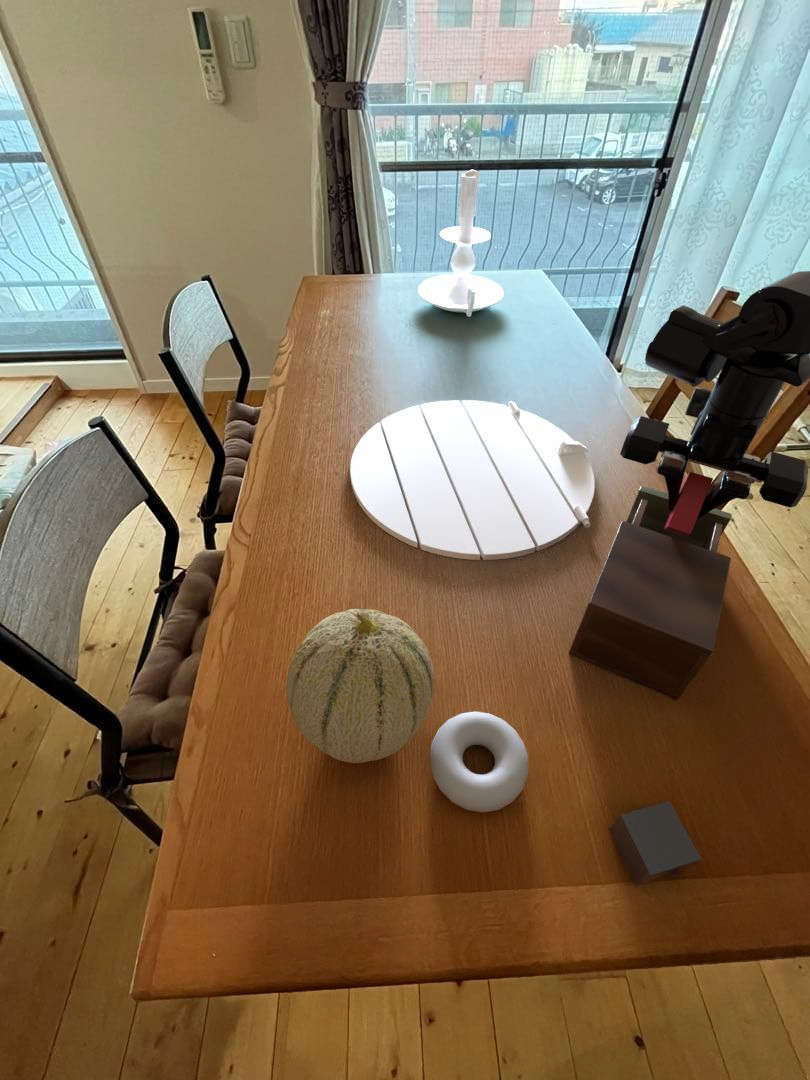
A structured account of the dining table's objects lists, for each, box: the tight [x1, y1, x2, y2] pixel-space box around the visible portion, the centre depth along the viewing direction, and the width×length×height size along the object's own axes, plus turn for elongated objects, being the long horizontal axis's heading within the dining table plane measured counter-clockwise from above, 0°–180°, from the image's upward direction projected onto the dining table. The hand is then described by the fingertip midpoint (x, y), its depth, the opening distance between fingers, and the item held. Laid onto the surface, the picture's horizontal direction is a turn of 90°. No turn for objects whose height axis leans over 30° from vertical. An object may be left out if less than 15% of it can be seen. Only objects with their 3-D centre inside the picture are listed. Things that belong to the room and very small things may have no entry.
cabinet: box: [568, 520, 732, 701], centre depth 65 cm, size 15×13×10 cm
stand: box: [608, 800, 702, 887], centre depth 50 cm, size 5×5×4 cm
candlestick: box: [417, 169, 505, 317], centre depth 124 cm, size 21×25×28 cm
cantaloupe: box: [285, 608, 435, 764], centre depth 55 cm, size 15×15×15 cm
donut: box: [429, 711, 529, 813], centre depth 56 cm, size 10×4×10 cm
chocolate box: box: [664, 471, 714, 536], centre depth 68 cm, size 4×3×7 cm
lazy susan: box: [349, 399, 596, 561], centre depth 89 cm, size 40×39×3 cm
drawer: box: [625, 484, 733, 553], centre depth 73 cm, size 18×11×8 cm, turn 151°
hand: (683, 513), depth 69 cm, fingers closed on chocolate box, 2 cm apart
